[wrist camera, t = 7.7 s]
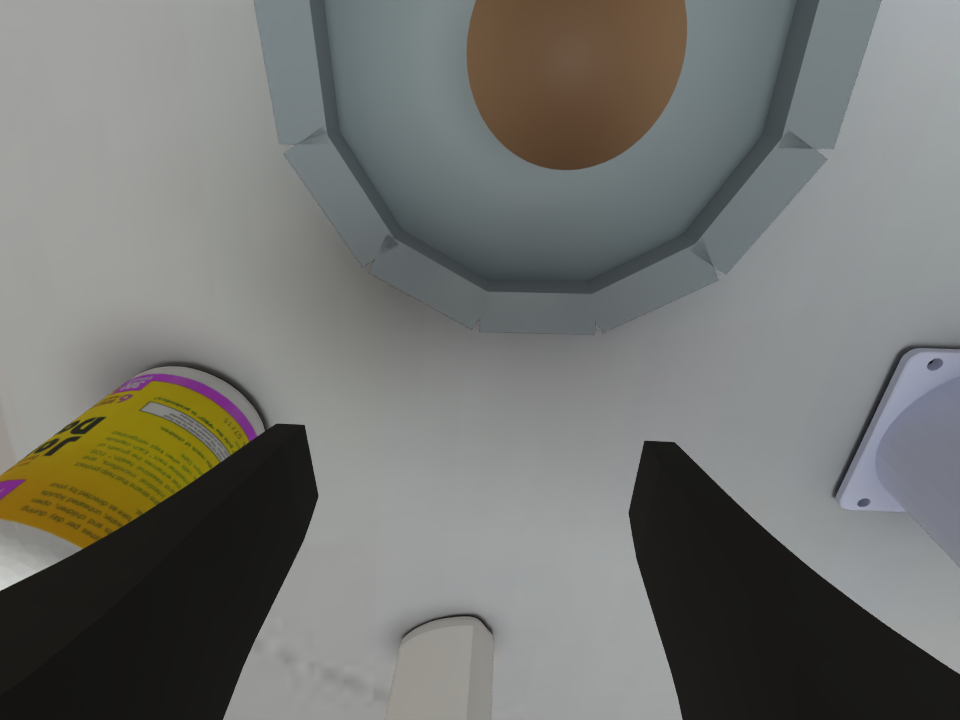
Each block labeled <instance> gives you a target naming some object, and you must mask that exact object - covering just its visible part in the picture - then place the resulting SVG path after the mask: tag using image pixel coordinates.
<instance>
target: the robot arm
mask: <svg viewBox="0 0 960 720" xmlns="http://www.w3.org/2000/svg"><path fill="white" fill-rule="evenodd" d="M933 359H935V360H934V361H933V362H932V363H931V364H929V365H928V363H929V362H930V361H932V360H933ZM317 499H318V491H317V486H316V481H315V476H314V471H313V466H312V461H311V456H310V450H309V445H308V440H307V435H306V430H305V425H295V424H276V425H274V426H272V427H271V428H269V429H268V430H266V431H265V432H263V433H262V434H260V435H259V436H257V437H256V438H254V439H253V440H251V441H250V442H249V443H247V444H246V445H244V446H243V447H242V448H240V449H239V450H237V451H236V452H234V453H233V454H232V455H230V456H229V457H227V458H226V459H225V460H223V461H222V462H220V463H219V464H217V465H216V466H214V467H213V468H212V469H210V470H209V471H207V472H206V473H204V474H203V475H202V476H200V477H199V478H197V479H196V480H194V481H193V482H191V483H190V484H188V485H187V486H185V487H184V488H182V489H181V490H179V491H178V492H176V493H175V494H173V495H171V496H170V497H168V498H167V499H165V500H164V501H162V502H161V503H159V504H157V505H156V506H154V507H153V508H151V509H150V510H148V511H147V512H145V513H143V514H142V515H140V516H139V517H137V518H136V519H134V520H132V521H131V522H129V523H127V524H126V525H124V526H122V527H121V528H119V529H117V530H115V531H114V532H112V533H110V534H109V535H107V536H105V537H103V538H102V539H100V540H98V541H96V542H94V543H92V544H91V545H89V546H87V547H85V548H83V549H82V550H80V551H78V552H76V553H74V554H73V555H71V556H69V557H67V558H65V559H63V560H61V561H59V562H57V563H56V564H54V565H51V566H49V567H47V568H45V569H43V570H41V571H39V572H37V573H35V574H33V575H31V576H29V577H27V578H25V579H23V580H21V581H19V582H17V583H15V584H13V585H11V586H9V587H7V588H5V589H3V590H1V591H0V720H223V718H224V715H225V713H226V710H227V707H228V705H229V702H230V700H231V697H232V694H233V692H234V689H235V686H236V684H237V681H238V679H239V676H240V673H241V671H242V668H243V666H244V664H245V661H246V659H247V657H248V655H249V652H250V650H251V648H252V646H253V643H254V641H255V639H256V637H257V635H258V633H259V631H260V629H261V627H262V625H263V623H264V621H265V619H266V617H267V615H268V613H269V611H270V609H271V607H272V605H273V602H274V600H275V598H276V596H277V594H278V592H279V590H280V588H281V586H282V584H283V582H284V580H285V578H286V576H287V574H288V572H289V570H290V568H291V566H292V564H293V562H294V559H295V557H296V555H297V553H298V551H299V549H300V547H301V545H302V543H303V540H304V538H305V535H306V532H307V529H308V527H309V524H310V521H311V518H312V515H313V512H314V509H315V506H316V502H317ZM835 500H836V502H837V503H838V505H839V506H840V507H841V508H843V509H847V510H867V511H890V512H907V513H908V514H909V515H910V516H911V517H912V518H913V519H914V520H915V521H916V522H917V523H918V524H919V525H920V526H921V527H922V528H923V529H924V530H925V531H926V533H927V534H928V535H929V536H930V537H931V538H932V539H933V540H934V541H935V542H936V543H937V544H938V545H939V546H940V547H941V548H942V549H943V550H944V552H945V553H946V554H947V555H948V556H949V557H950V558H951V559H952V560H953V561H954V562H955V563H956V564H957V565H958V566H959V567H960V349H933V348H917V349H913V350H911V351H908V352H907V353H906V354H904V355H903V357H902V358H901V360H900V362H899V364H898V366H897V368H896V370H895V372H894V375H893V377H892V379H891V381H890V383H889V385H888V387H887V389H886V391H885V394H884V396H883V398H882V400H881V402H880V404H879V406H878V408H877V410H876V412H875V415H874V417H873V419H872V421H871V423H870V425H869V427H868V429H867V431H866V434H865V436H864V438H863V440H862V442H861V444H860V446H859V448H858V450H857V453H856V455H855V457H854V459H853V461H852V463H851V465H850V467H849V469H848V472H847V474H846V476H845V478H844V480H843V482H842V484H841V486H840V488H839V490H838V493H837V495H836V498H835ZM629 518H630V524H631V530H632V536H633V542H634V547H635V552H636V558H637V562H638V565H639V568H640V572H641V575H642V578H643V582H644V585H645V588H646V592H647V595H648V598H649V602H650V605H651V608H652V611H653V614H654V618H655V621H656V624H657V627H658V631H659V634H660V637H661V640H662V644H663V647H664V650H665V653H666V657H667V660H668V663H669V666H670V670H671V673H672V677H673V681H674V684H675V688H676V692H677V696H678V700H679V705H680V709H681V714H682V719H683V720H960V674H958V673H957V672H955V671H954V670H952V669H951V668H949V667H948V666H946V665H944V664H943V663H941V662H940V661H938V660H937V659H935V658H934V657H933V656H931V655H930V654H928V653H927V652H925V651H924V650H922V649H921V648H919V647H918V646H916V645H915V644H913V643H912V642H910V641H909V640H907V639H906V638H904V637H903V636H901V635H900V634H898V633H897V632H895V631H894V630H893V629H891V628H890V627H888V626H887V625H886V624H884V623H883V622H881V621H880V620H878V619H877V618H876V617H874V616H873V615H871V614H870V613H869V612H867V611H866V610H865V609H863V608H862V607H861V606H859V605H858V604H857V603H855V602H854V601H853V600H851V599H850V598H849V597H847V596H846V595H845V594H843V593H842V592H841V591H839V590H838V589H837V588H835V587H834V586H833V585H832V584H830V583H829V582H828V581H826V580H825V579H824V578H822V577H821V576H820V575H819V574H817V573H816V572H815V571H814V570H812V569H811V568H810V567H809V566H807V565H806V564H805V563H804V562H803V561H801V560H800V559H799V558H798V557H797V556H795V555H794V554H793V553H792V552H791V551H790V550H788V549H787V548H786V547H785V546H784V545H783V544H781V543H780V542H779V541H778V540H777V539H776V538H774V537H773V536H772V535H771V534H770V533H769V532H768V531H766V530H765V529H764V528H763V527H762V526H761V525H760V524H759V523H758V522H756V521H755V520H754V519H753V518H752V517H751V516H750V515H749V514H748V513H747V512H746V511H745V510H743V509H742V508H741V507H740V506H739V505H738V504H737V503H736V502H735V501H734V500H733V499H732V498H731V497H730V496H729V495H728V494H727V493H726V492H725V491H724V490H723V489H721V488H720V487H719V486H718V485H717V484H716V483H715V482H714V481H713V480H712V479H711V478H710V477H709V476H708V475H707V474H706V473H705V472H704V471H703V470H702V469H701V468H700V467H699V466H698V465H697V464H696V463H695V462H694V461H693V460H692V459H691V458H690V457H689V456H688V455H687V454H686V453H685V452H684V451H683V450H682V449H681V448H680V447H679V446H678V445H677V444H676V443H675V442H659V441H644V445H643V450H642V454H641V459H640V463H639V468H638V472H637V477H636V482H635V486H634V491H633V495H632V500H631V504H630V509H629Z"/></svg>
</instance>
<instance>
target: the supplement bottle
mask: <svg viewBox="0 0 960 720" xmlns="http://www.w3.org/2000/svg"><path fill="white" fill-rule="evenodd" d="M263 432H265V429H264V426H263V423H262V421H261V419H260V417H259V415H258V413H257V412H256V410H255V409H254V407H253V406H252V405H251V404H250V402H249V401H248V400H247V399H246V398H245V397H244V396H243V395H242V394H241V393H240V392H239V391H237V390H236V389H235V388H233V387H232V386H231V385H229V384H228V383H226V382H224V381H223V380H221V379H219V378H217V377H215V376H213V375H210V374H208V373H205V372H202V371H200V370H196V369H192V368H187V367H179V366H168V367H158V368H153V369H150V370H147V371H144V372H142V373H140V374H138V375H136V376H134V377H133V378H132V379H130V380H129V381H127V382H126V383H124V384H123V385H121V386H120V387H119V388H117V389H116V390H115V391H113V392H112V393H111V394H109V395H108V396H106V397H105V398H104V399H102V400H101V401H100V402H98V403H97V404H96V405H94V406H93V407H92V408H90V409H89V410H88V411H86V412H85V413H84V414H82V415H81V416H80V417H78V418H77V419H76V420H74V421H73V422H71V423H70V424H69V425H67V426H66V427H64V428H63V429H62V430H61V431H59V432H58V433H57V434H55V435H54V436H53V437H52V438H50V439H49V440H47V441H46V442H45V443H43V444H42V445H41V446H39V447H38V448H36V449H35V450H34V451H32V452H31V453H30V454H28V455H27V456H26V457H25V458H23V459H22V460H21V461H19V462H18V463H17V464H16V465H14V466H13V467H11V468H10V469H9V470H7V471H6V472H5V473H3V474H2V475H1V476H0V591H1V590H3V589H5V588H7V587H9V586H11V585H13V584H15V583H17V582H19V581H21V580H23V579H25V578H27V577H29V576H31V575H33V574H35V573H37V572H39V571H41V570H43V569H45V568H47V567H49V566H51V565H54V564H56V563H57V562H59V561H61V560H63V559H65V558H67V557H69V556H71V555H73V554H74V553H76V552H78V551H80V550H82V549H83V548H85V547H87V546H89V545H91V544H92V543H94V542H96V541H98V540H100V539H102V538H103V537H105V536H107V535H109V534H110V533H112V532H114V531H115V530H117V529H119V528H121V527H122V526H124V525H126V524H127V523H129V522H131V521H132V520H134V519H136V518H137V517H139V516H140V515H142V514H143V513H145V512H147V511H148V510H150V509H151V508H153V507H154V506H156V505H157V504H159V503H161V502H162V501H164V500H165V499H167V498H168V497H170V496H171V495H173V494H175V493H176V492H178V491H179V490H181V489H182V488H184V487H185V486H187V485H188V484H190V483H191V482H193V481H194V480H196V479H197V478H199V477H200V476H202V475H203V474H204V473H206V472H207V471H209V470H210V469H212V468H213V467H214V466H216V465H217V464H219V463H220V462H222V461H223V460H225V459H226V458H227V457H229V456H230V455H232V454H233V453H234V452H236V451H237V450H239V449H240V448H242V447H243V446H244V445H246V444H247V443H249V442H250V441H251V440H253V439H254V438H256V437H257V436H259V435H260V434H262V433H263Z"/></svg>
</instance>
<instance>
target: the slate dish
mask: <svg viewBox="0 0 960 720" xmlns="http://www.w3.org/2000/svg"><path fill="white" fill-rule="evenodd" d="M881 1H882V0H685V6H686V15H687V43H686V51H685V57H684V62H683V66H682V70H681V73H680V76H679V79H678V82H677V85H676V88H675V90H674V92H673V94H672V96H671V98H670V100H669V102H668V104H667V106H666V107H665V109H664V111H663V112H662V114H661V116H660V117H659V118H658V120H657V121H656V122H655V123H654V125H653V126H652V127H651V129H650V130H649V131H648V132H647V133H646V134H645V135H644V136H643V137H642V138H641V139H640V140H639V141H638V142H636V143H635V144H634V145H633V146H632V147H630V148H629V149H628V150H626V151H625V152H623V153H621V154H620V155H618V156H617V157H615V158H613V159H611V160H609V161H607V162H605V163H602V164H599V165H596V166H593V167H589V168H584V169H579V170H554V169H549V168H544V167H540V166H537V165H535V164H532V163H529V162H527V161H525V160H523V159H522V158H520V157H518V156H516V155H515V154H514V153H512V152H511V151H510V150H508V149H507V148H506V147H505V146H504V145H503V144H502V143H501V142H500V141H499V140H498V139H497V138H496V137H495V136H494V135H493V133H492V132H491V131H490V130H489V128H488V127H487V125H486V123H485V122H484V120H483V118H482V117H481V115H480V113H479V110H478V108H477V106H476V103H475V101H474V98H473V94H472V91H471V88H470V82H469V77H468V71H467V56H466V54H467V36H468V30H469V24H470V19H471V15H472V12H473V8H474V4H475V2H476V0H254V5H255V11H256V17H257V22H258V28H259V33H260V39H261V45H262V50H263V56H264V61H265V67H266V73H267V78H268V84H269V89H270V95H271V101H272V106H273V112H274V117H275V123H276V129H277V134H278V140H279V144H297V145H295V146H294V147H292V148H291V149H290V150H288V151H287V152H285V153H284V156H285V157H286V158H287V160H288V161H289V163H290V164H291V166H292V167H293V169H294V170H295V171H296V173H297V174H298V176H299V177H300V179H301V180H302V182H303V183H304V184H305V186H306V187H307V189H308V190H309V192H310V193H311V194H312V196H313V197H314V199H315V200H316V202H317V203H318V205H319V206H320V207H321V209H322V210H323V212H324V213H325V215H326V216H327V217H328V219H329V220H330V222H331V223H332V225H333V226H334V228H335V229H336V230H337V232H338V233H339V235H340V236H341V238H342V239H343V240H344V242H345V243H346V245H347V246H348V248H349V249H350V251H351V252H352V253H353V255H354V256H355V258H356V259H357V261H358V262H359V263H360V265H361V266H362V267H363V266H364V265H366V264H368V263H369V262H371V261H373V260H374V262H373V264H372V266H371V268H370V270H369V272H368V273H370V274H372V275H373V276H375V277H377V278H379V279H381V280H382V281H384V282H386V283H388V284H390V285H392V286H393V287H395V288H397V289H399V290H401V291H402V292H404V293H406V294H408V295H410V296H411V297H413V298H415V299H417V300H419V301H421V302H422V303H424V304H426V305H428V306H430V307H431V308H433V309H435V310H437V311H439V312H440V313H442V314H444V315H446V316H448V317H450V318H451V319H453V320H455V321H457V322H459V323H460V324H462V325H464V326H466V327H468V328H469V329H471V330H472V329H473V327H474V325H475V324H476V322H477V321H478V319H479V332H504V333H541V334H577V335H594V333H595V326H596V322H597V324H598V326H599V328H600V330H601V332H602V333H604V332H606V331H609V330H611V329H613V328H615V327H617V326H619V325H622V324H624V323H626V322H628V321H630V320H633V319H635V318H637V317H639V316H641V315H644V314H646V313H648V312H650V311H652V310H654V309H657V308H659V307H661V306H663V305H665V304H668V303H670V302H672V301H674V300H676V299H679V298H681V297H683V296H685V295H687V294H689V293H692V292H694V291H696V290H698V289H700V288H703V287H705V286H707V285H709V284H711V283H713V282H716V281H718V278H717V275H716V273H715V270H714V267H715V268H717V269H718V270H720V271H721V272H723V273H724V274H727V273H728V272H729V271H730V269H731V268H732V267H733V266H734V265H735V264H736V263H737V262H738V260H739V259H740V258H741V257H742V256H743V255H744V254H745V252H746V251H747V250H748V249H749V248H750V247H751V246H752V244H753V243H754V242H755V241H756V240H757V239H758V238H759V237H760V235H761V234H762V233H763V232H764V231H765V230H766V229H767V227H768V226H769V225H770V224H771V223H772V222H773V221H774V219H775V218H776V217H777V216H778V215H779V214H780V213H781V212H782V210H783V209H784V208H785V207H786V206H787V205H788V204H789V202H790V201H791V200H792V199H793V198H794V197H795V196H796V194H797V193H798V192H799V191H800V190H801V189H802V188H803V187H804V185H805V184H806V183H807V182H808V181H809V180H810V179H811V177H812V176H813V175H814V174H815V173H816V172H817V171H818V169H819V168H820V167H821V166H822V165H823V164H824V163H825V162H826V160H827V158H826V157H824V156H823V155H822V154H820V153H819V152H818V151H816V150H815V149H834V146H835V143H836V140H837V137H838V134H839V131H840V127H841V124H842V121H843V118H844V115H845V112H846V109H847V106H848V103H849V100H850V96H851V93H852V90H853V87H854V84H855V81H856V78H857V75H858V72H859V69H860V66H861V62H862V59H863V56H864V53H865V50H866V47H867V44H868V41H869V38H870V35H871V31H872V28H873V25H874V22H875V19H876V16H877V13H878V10H879V7H880V4H881ZM713 266H714V267H713Z"/></svg>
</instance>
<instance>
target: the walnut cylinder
mask: <svg viewBox="0 0 960 720" xmlns="http://www.w3.org/2000/svg"><path fill="white" fill-rule="evenodd" d="M686 43H687V15H686V6H685V0H476V2H475V4H474V8H473V12H472V15H471V19H470V24H469V30H468V36H467V54H466V56H467V71H468V77H469V82H470V88H471V91H472V94H473V98H474V101H475V103H476V106H477V108H478V110H479V113H480V115H481V117H482V118H483V120H484V122H485V123H486V125H487V127H488V128H489V130H490V131H491V132H492V133H493V135H494V136H495V137H496V138H497V139H498V140H499V141H500V142H501V143H502V144H503V145H504V146H505V147H506V148H507V149H508V150H510V151H511V152H512V153H514V154H515V155H516V156H518V157H520V158H522V159H523V160H525V161H527V162H529V163H532V164H535V165H537V166H540V167H544V168H549V169H554V170H579V169H584V168H589V167H593V166H596V165H599V164H602V163H605V162H607V161H609V160H611V159H613V158H615V157H617V156H618V155H620V154H621V153H623V152H625V151H626V150H628V149H629V148H630V147H632V146H633V145H634V144H635V143H636V142H638V141H639V140H640V139H641V138H642V137H643V136H644V135H645V134H646V133H647V132H648V131H649V130H650V129H651V127H652V126H653V125H654V123H655V122H656V121H657V120H658V118H659V117H660V116H661V114H662V112H663V111H664V109H665V107H666V106H667V104H668V102H669V100H670V98H671V96H672V94H673V92H674V90H675V88H676V85H677V82H678V79H679V76H680V73H681V70H682V66H683V62H684V57H685V51H686Z"/></svg>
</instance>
